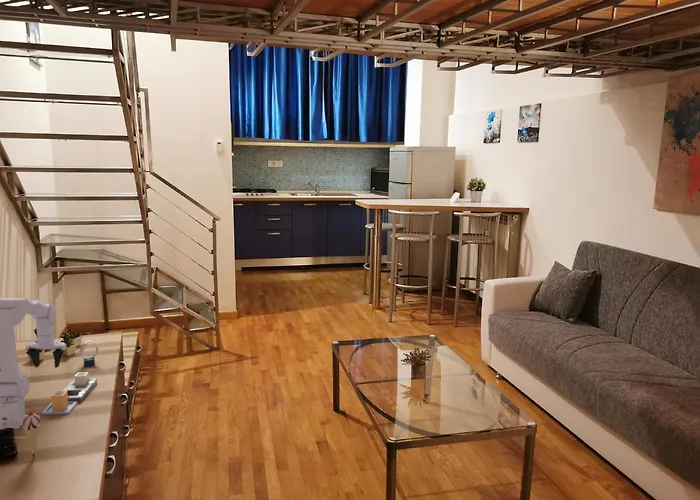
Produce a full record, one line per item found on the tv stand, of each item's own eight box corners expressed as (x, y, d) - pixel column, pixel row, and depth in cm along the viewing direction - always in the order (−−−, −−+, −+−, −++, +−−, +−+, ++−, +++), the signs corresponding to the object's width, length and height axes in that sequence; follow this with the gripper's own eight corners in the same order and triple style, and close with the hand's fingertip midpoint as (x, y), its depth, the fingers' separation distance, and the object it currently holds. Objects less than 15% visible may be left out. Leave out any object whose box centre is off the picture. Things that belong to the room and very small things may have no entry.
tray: (68, 414, 190) (68, 411, 189) (41, 415, 188) (41, 412, 188) (77, 403, 198) (77, 400, 198) (52, 404, 197) (52, 401, 197)
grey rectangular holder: (81, 403, 199) (81, 396, 199) (55, 403, 198) (55, 397, 197) (97, 383, 217) (97, 378, 216) (74, 384, 215) (73, 378, 215)
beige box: (85, 390, 210) (84, 375, 209) (75, 390, 210) (74, 375, 209) (89, 385, 214) (88, 371, 213) (78, 386, 214) (78, 371, 213)
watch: (79, 363, 237) (78, 340, 236) (98, 361, 241) (98, 338, 239) (79, 367, 232) (78, 344, 231) (99, 365, 236) (98, 342, 234)
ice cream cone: (40, 450, 166) (37, 406, 163) (47, 457, 162) (45, 412, 160) (20, 457, 161) (17, 412, 159) (27, 465, 158) (24, 418, 156)
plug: (63, 410, 192) (63, 394, 191) (52, 411, 191) (51, 395, 190) (68, 405, 196) (67, 390, 195) (56, 406, 195) (55, 390, 194)
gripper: (69, 330, 210) (70, 363, 212) (32, 330, 209) (33, 362, 211) (60, 336, 203) (62, 369, 205) (22, 335, 202) (24, 369, 204)
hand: (47, 366), depth 207 cm, fingers open, 7 cm apart
